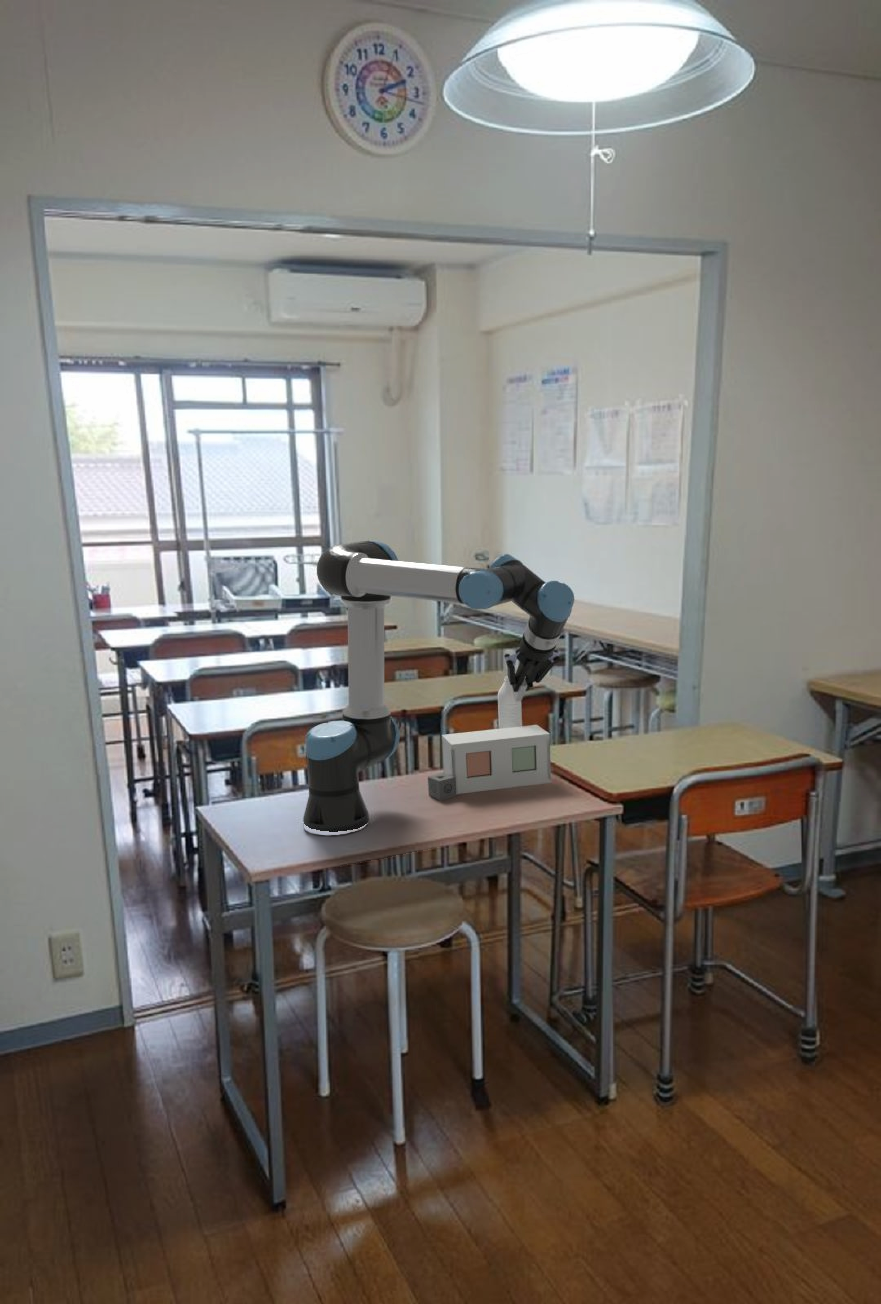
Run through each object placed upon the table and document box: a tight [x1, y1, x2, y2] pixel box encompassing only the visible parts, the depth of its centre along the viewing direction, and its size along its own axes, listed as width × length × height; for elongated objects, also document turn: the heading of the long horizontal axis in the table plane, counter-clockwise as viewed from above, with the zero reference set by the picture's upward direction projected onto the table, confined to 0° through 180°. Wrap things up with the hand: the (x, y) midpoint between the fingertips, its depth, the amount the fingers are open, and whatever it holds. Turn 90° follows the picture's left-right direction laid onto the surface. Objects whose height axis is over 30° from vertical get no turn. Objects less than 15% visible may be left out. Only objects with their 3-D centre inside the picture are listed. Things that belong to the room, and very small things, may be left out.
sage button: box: [512, 746, 535, 771], centre depth 237 cm, size 6×7×6 cm
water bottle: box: [497, 675, 523, 729], centre depth 250 cm, size 9×6×25 cm
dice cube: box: [427, 772, 457, 801], centre depth 229 cm, size 5×5×5 cm
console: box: [441, 724, 552, 795], centre depth 237 cm, size 26×10×13 cm, turn 104°
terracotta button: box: [466, 751, 490, 777], centre depth 234 cm, size 6×7×6 cm
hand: (516, 696), depth 216 cm, fingers closed
